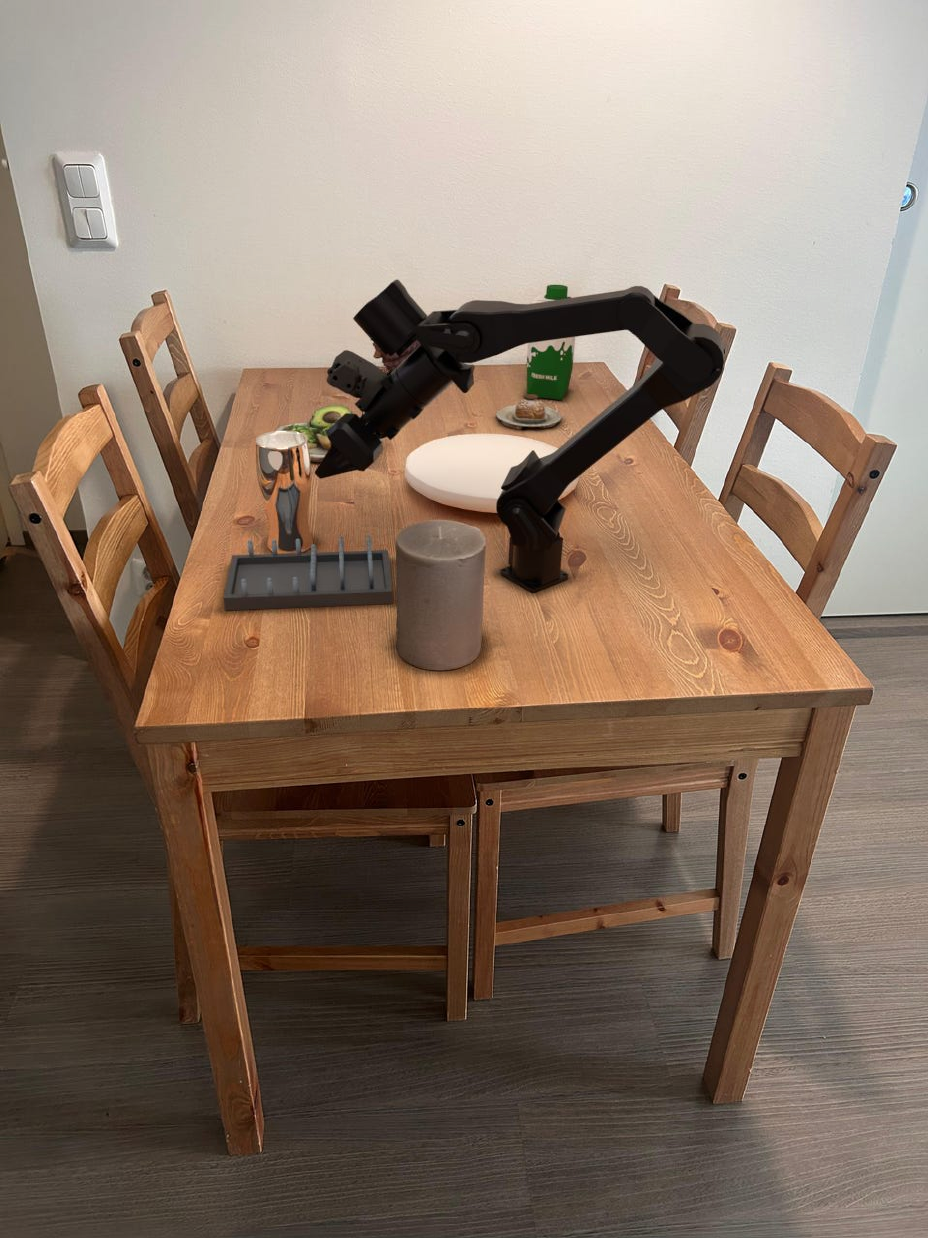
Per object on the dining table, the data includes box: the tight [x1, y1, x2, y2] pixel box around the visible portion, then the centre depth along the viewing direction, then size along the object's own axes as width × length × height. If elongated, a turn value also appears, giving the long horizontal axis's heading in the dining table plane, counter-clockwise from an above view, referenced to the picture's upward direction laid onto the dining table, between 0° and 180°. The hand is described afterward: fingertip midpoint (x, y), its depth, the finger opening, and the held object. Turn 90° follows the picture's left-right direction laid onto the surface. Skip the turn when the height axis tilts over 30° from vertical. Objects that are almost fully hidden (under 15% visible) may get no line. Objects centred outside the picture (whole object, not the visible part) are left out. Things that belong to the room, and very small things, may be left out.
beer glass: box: [255, 430, 314, 554], centre depth 122 cm, size 7×7×15 cm
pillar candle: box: [395, 519, 487, 671], centre depth 101 cm, size 10×10×15 cm
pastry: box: [496, 394, 562, 431], centre depth 170 cm, size 12×12×5 cm
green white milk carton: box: [526, 284, 576, 401], centre depth 180 cm, size 9×9×20 cm
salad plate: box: [275, 404, 383, 464], centre depth 156 cm, size 19×18×5 cm
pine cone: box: [372, 340, 421, 372], centre depth 192 cm, size 18×10×10 cm
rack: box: [223, 534, 394, 612], centre depth 115 cm, size 20×11×5 cm, turn 97°
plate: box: [404, 433, 580, 514], centre depth 142 cm, size 28×6×27 cm
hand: (330, 462), depth 118 cm, fingers open, 9 cm apart
